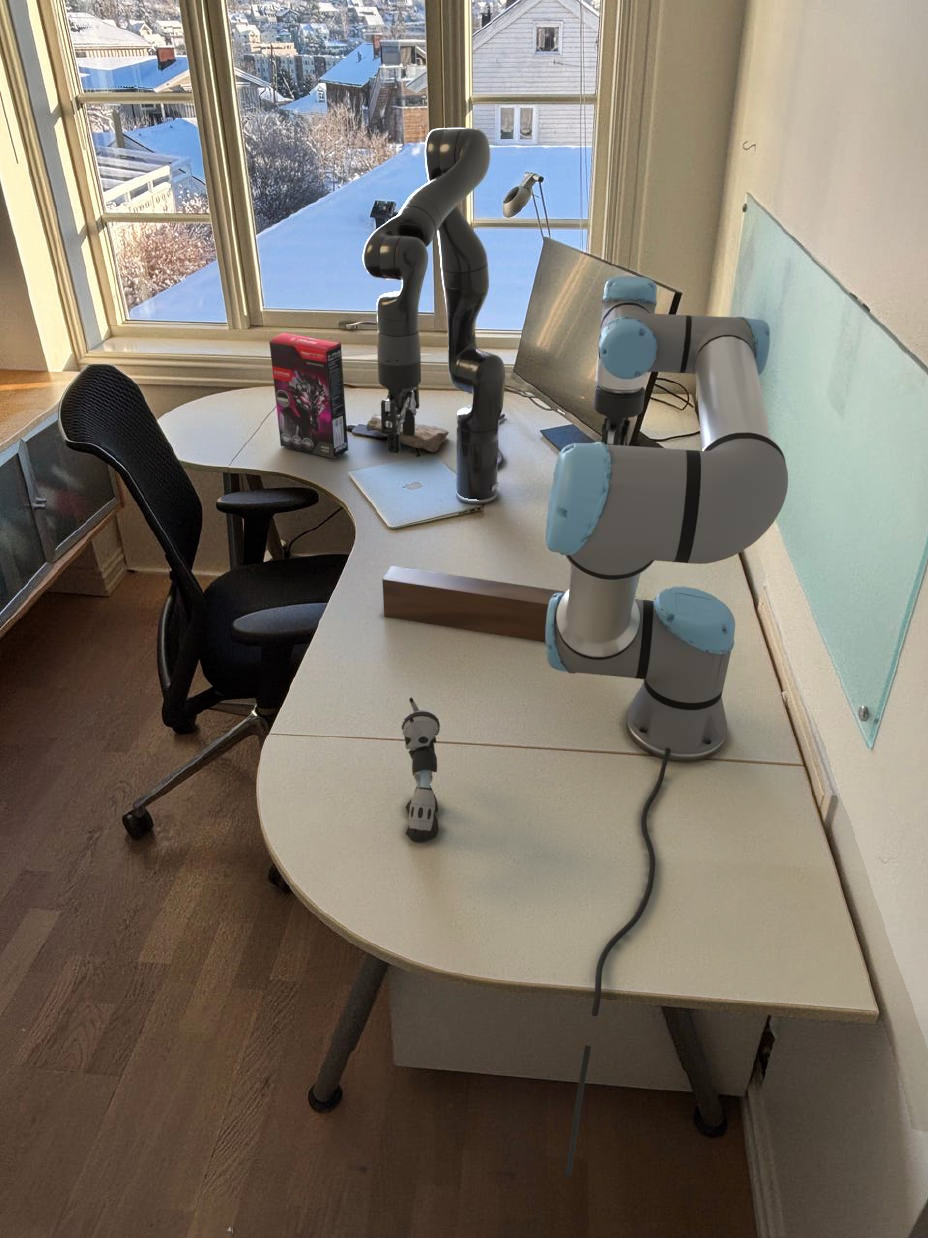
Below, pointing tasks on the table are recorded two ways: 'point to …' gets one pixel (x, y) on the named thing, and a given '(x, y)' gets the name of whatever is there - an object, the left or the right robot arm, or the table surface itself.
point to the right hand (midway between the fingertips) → (607, 511)
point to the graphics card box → (309, 394)
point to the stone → (422, 438)
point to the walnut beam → (466, 603)
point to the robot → (422, 772)
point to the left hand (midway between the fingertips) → (401, 443)
